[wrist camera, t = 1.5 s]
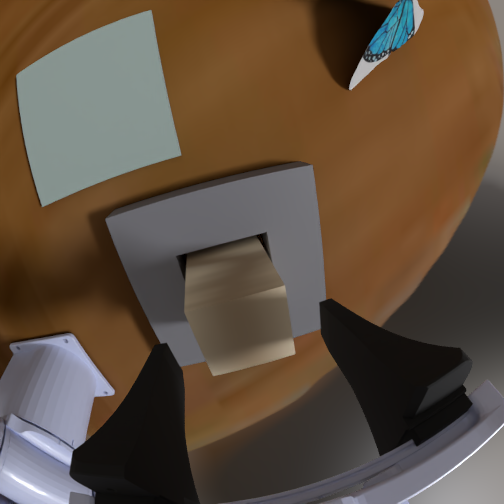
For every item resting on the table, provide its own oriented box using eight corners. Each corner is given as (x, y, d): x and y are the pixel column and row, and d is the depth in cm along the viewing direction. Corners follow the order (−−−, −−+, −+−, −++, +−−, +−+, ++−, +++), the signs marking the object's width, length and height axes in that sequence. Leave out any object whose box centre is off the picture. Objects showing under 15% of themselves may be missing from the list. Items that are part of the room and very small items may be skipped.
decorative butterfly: (464, 49, 11) (424, 76, 9) (406, 60, 17) (346, 94, 15) (396, -55, 6) (316, -70, 5) (346, -28, 12) (263, -19, 11)
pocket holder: (175, 349, 21) (174, 367, 19) (114, 209, 15) (105, 219, 14) (317, 311, 22) (327, 326, 20) (300, 161, 16) (312, 164, 15)
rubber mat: (45, 205, 14) (42, 207, 14) (20, 75, 10) (16, 74, 9) (181, 154, 15) (180, 155, 15) (151, 13, 11) (150, 9, 10)
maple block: (205, 302, 19) (213, 375, 13) (187, 247, 17) (184, 311, 11) (264, 286, 20) (295, 353, 13) (253, 230, 18) (284, 285, 12)
